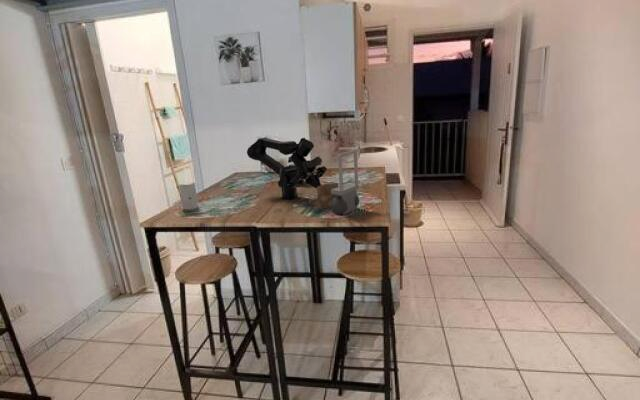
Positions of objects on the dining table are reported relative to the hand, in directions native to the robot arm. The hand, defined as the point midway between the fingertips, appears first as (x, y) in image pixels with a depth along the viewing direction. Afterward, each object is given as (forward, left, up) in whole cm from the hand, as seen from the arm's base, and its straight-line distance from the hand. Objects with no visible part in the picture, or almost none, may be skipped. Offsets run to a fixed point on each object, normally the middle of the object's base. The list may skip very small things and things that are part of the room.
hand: (321, 189), depth 154 cm
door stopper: (-30, +30, -7) cm, 43 cm away
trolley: (+14, -8, -6) cm, 18 cm away
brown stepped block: (+5, -1, -6) cm, 8 cm away
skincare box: (-59, -21, -7) cm, 63 cm away
